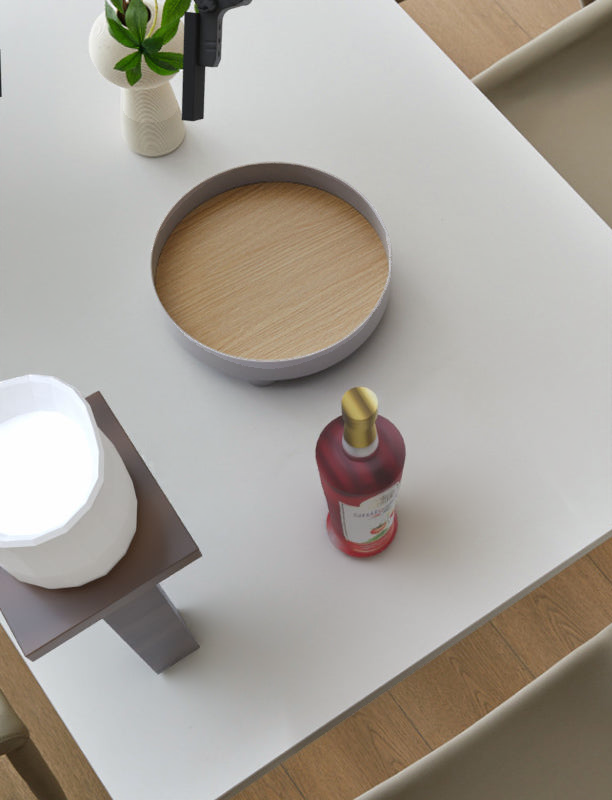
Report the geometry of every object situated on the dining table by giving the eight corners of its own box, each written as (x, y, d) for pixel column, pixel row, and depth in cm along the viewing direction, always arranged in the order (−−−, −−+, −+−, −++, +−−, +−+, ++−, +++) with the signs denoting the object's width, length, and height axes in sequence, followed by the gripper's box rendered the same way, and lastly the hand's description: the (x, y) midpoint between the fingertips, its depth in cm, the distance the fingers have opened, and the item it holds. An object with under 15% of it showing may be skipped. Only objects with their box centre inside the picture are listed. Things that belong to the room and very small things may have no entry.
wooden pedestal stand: (78, 618, 95) (-69, 483, 63) (186, 551, 98) (98, 389, 66) (146, 738, 90) (25, 657, 59) (257, 664, 93) (199, 548, 62)
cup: (60, 414, 65) (11, 341, 56) (180, 500, 63) (149, 437, 54) (-49, 530, 62) (-119, 471, 53) (74, 625, 59) (23, 580, 51)
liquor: (375, 479, 101) (377, 342, 76) (413, 540, 99) (428, 419, 73) (311, 514, 100) (291, 386, 74) (348, 577, 97) (340, 467, 72)
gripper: (310, -231, 62) (289, 124, 69) (-88, -270, 63) (-70, 86, 70) (290, -267, 55) (268, 133, 62) (-159, -310, 56) (-130, 90, 63)
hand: (89, 109), depth 66 cm, fingers open, 13 cm apart
